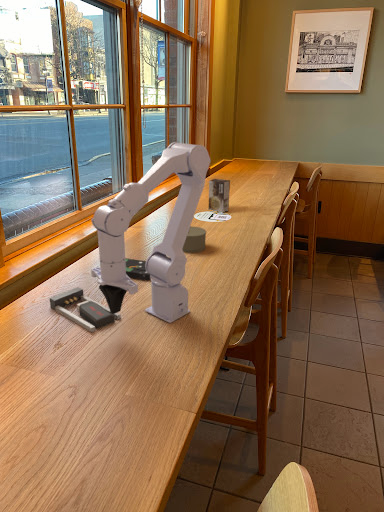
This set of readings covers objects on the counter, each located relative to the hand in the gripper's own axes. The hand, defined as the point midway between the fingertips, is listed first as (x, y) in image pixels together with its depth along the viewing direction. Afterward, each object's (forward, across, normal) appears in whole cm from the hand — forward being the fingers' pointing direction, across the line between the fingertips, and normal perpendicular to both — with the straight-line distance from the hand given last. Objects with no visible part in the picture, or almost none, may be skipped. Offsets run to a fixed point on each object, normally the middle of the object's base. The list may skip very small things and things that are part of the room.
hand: (115, 311), depth 93 cm
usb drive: (+6, -10, +1) cm, 12 cm away
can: (+6, -25, +57) cm, 63 cm away
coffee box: (+5, -50, +109) cm, 120 cm away
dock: (+6, -14, 0) cm, 15 cm away
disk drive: (+6, -24, +27) cm, 37 cm away
